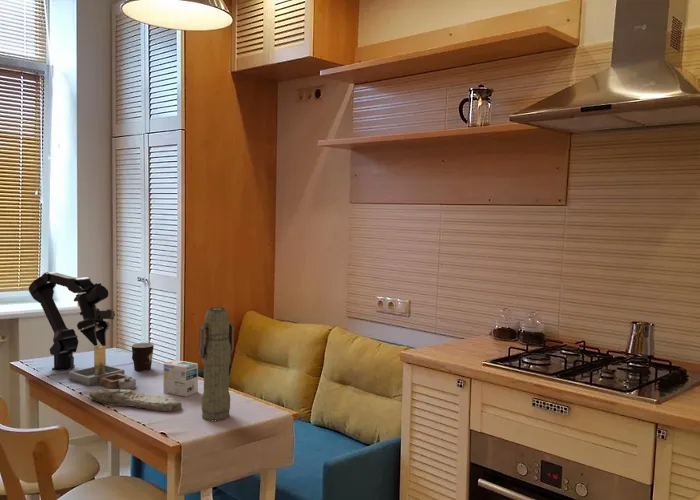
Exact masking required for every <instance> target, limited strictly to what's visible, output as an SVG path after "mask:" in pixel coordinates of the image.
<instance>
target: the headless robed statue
mask: <svg viewBox="0 0 700 500" xmlns="http://www.w3.org/2000/svg"><path fill="white" fill-rule="evenodd" d="M198 331H199V335H198V336H199V337H198V341H199V342H198V353H199V358H201V359H202V360H201V361H202V362H201V363H202V365H203V393H202V395H201V412H202V413H201V417H202V420H204V419H205V420H204V421H207V420H210V421H209V422H218V421H217V420H221V421H224V420H223V419H225V420H227V419H229V418H230V410H231V393H230V392H229V391H230V390H229V388H230V386H229V384H230V364H231V361H232V360H231V357H232V353H234V350H235V349H234V348H235V345H234V344H235V326H234V324H233V323H232V322H230V316H229V312H228V310H227V309H226V308H224V307H210V308H209V309H207V311H206V313H205V316H204V323H202V324H201V325H200V328H199V329H198ZM228 417H229V418H228ZM226 418H227V419H226ZM212 420H213V421H212ZM215 420H216V421H215Z"/></svg>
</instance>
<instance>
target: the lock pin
mask: <svg viewBox="0 0 700 500" xmlns="http://www.w3.org/2000/svg"><path fill="white" fill-rule="evenodd" d="M106 349H107V348H106V346H102V345H97V346H94V347H93V353H94V355H93V360H94V366H93V367H94V376H97V375H101V374H106V365H107V364H106V361H107V359H106V358H107V357H106V356H107V355H106V351H107V350H106Z"/></svg>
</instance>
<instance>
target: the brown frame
mask: <svg viewBox="0 0 700 500" xmlns="http://www.w3.org/2000/svg"><path fill="white" fill-rule="evenodd" d="M98 385H100V386H102V387H106V388H107V389H108V388H109V389H116V388H117V389H123V390H127V389H128V390H129V389H130V390H134V389H136V388H137V380H136V379H135V378H133V376H129V375H126V374H124V375H123V374H119V373H117V374H113V375H108V376H104V377H100V378H99V384H98Z"/></svg>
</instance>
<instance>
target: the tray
mask: <svg viewBox="0 0 700 500" xmlns="http://www.w3.org/2000/svg"><path fill="white" fill-rule="evenodd" d="M117 373H119V374H123V375H125V369H123V368H119V367H116V366H111V365H108V364H106V374H101V375H97V376H94V366H90V367H85V368H80V369H76V370H71V371H68V379H69V380H70V381H72V382H76V383H78V384H82V385H85V386H87V387H90V386H96V385H99V378H100V377H104V376H108V375H113V374H117Z"/></svg>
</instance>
